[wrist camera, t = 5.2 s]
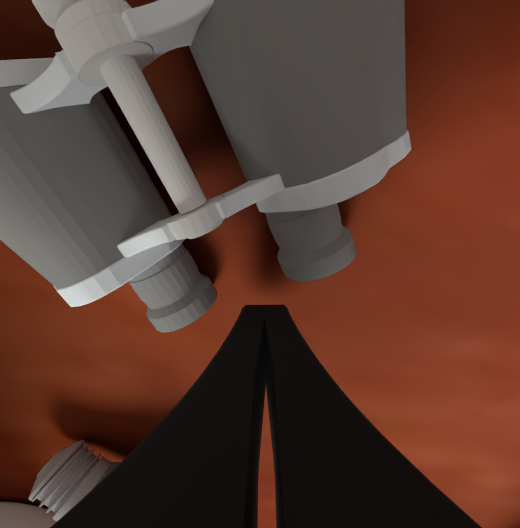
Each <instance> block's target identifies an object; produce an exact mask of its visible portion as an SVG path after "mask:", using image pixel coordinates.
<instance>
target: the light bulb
mask: <svg viewBox="0 0 520 528" xmlns="http://www.w3.org/2000/svg"><path fill="white" fill-rule="evenodd" d="M84 442H85V441H84V440H83V439H82V440H80V441H78V442H76V443H74V444H72V445H70V446H69V447H67V448H66V447H64V448H62V449H61V450H60V451H58V452H57V453H56V454H55V455H54V456H53V457H52V458H51V459H50V460H49V461H48V462H47V463H46V464H45V466H44V467H43V468H42V469H41V470H40V472H39V473H38V475H37V479H36V481H35V483H34V486H33V488H32V491H31V493H30V496H29V498H28V499H29V500H30V501H32V502H33V501H35V500H36V499H38V500H40V501H41V504H40V505H39V508H40V507H41V506H42V505H46V506H47V507H48V509H47V511H46V514H47V513H48V512H49V511H50V510H52V511H53V512H54V513H55V515H54V516H53V519H54V520H55V521H56V522H57V521H58V520H59V519H60V518H62V517H63V516H64V515H65V514H66V513H67V512H68V511H69V510H71V509H72V508H73V507H74V506H75V505H76V504H77V503H78V502H79V501H80V500H82V499H83V498H84V497H85V496H86V495H87V494H88V493H89V492H90V491H91V490H92V489H93V488H94V487H95V486H96V485H98V484H99V483H100V482H101V481H102V480H103V479H104V478H105V477H106V476H107V475H108V474H109V473H110V472H111V471H112V470H113V469H115V468H116V467H117V466H118V465H119V464H120V463H121V462H111V461H109V460H107V459H106V458H105V457H104V456H103V457H102V458H101V459H99V457H100V455H101V454H99V455H98V456H95V455H94V454H93V452H94V450H95V449H93V450H91V451H89V450H88V449H87V447H88V445H89V444H86V445H85V446H83V444H84Z"/></svg>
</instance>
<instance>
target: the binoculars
mask: <svg viewBox="0 0 520 528" xmlns="http://www.w3.org/2000/svg"><path fill="white" fill-rule="evenodd" d="M32 2H33V4H34V6H35V8H36V9H37V11H38V12H39V14H40V15H41V17H42V19H43V20H44V21H45V23H46V24H47V25H48V26H50V27H51V28H53V29H54V30H55V35H56V38H57V39H58V41H59V43H60V45H61V47H62V48H63V50H62V51H61V52H56V55H55V57H54V58H36V59H16V60H0V240H1V241H2V242H3V243H5V244H6V245H7V246H8V247H9V248H10V249H12V250H13V251H14V252H15V253H16V254H18V255H19V256H20V257H21V258H22V259H23V260H25V261H26V262H27V263H28V264H29V265H30V266H32V267H33V268H34V269H35V270H36V271H38V272H39V273H40V274H41V275H42V276H43V277H45V278H46V279H47V280H48V281H49V282H50V283H52V284H53V286H54V288H55V289H56V290H57V292H58V293H59V294H60V295H61V296H62V298H63V299H64V300H65V301H66V302H67V303H68V304H69V305H70V306H71V307H76V306H82V305H85V304H88V303H91V302H93V301H95V300H97V299H99V298H101V297H103V296H105V295H107V294H109V293H110V292H112V291H114V290H115V289H117V288H119V287H120V286H122V285H123V284H125V283H126V282H129V283H130V285H131V286H132V288H133V289H134V291H135V292H136V293H137V295H138V296H139V297H140V299H141V300H142V301H143V302H145V303H146V305H147V317H148V318H149V320H150V321H151V322H152V324H153V325H154V327H155V328H156V329H157V330H158V331H160V332H172V331H175V330H178V329H180V328H183V327H185V326H187V325H189V324H190V323H192V322H194V321H195V320H197V319H198V318H199V317H201V316H202V315H203V314H204V313H205V312H206V311H207V310H208V309H209V308H210V307H211V306H212V305H213V303H214V302H215V300H216V297H217V291H216V289H215V287H214V285H213V284H212V282H211V280H210V279H209V277H207V276H205V275H202V274H200V272H199V271H198V267H197V265H196V263H195V262H194V260H193V258H192V256H191V255H190V253H189V251H188V250H187V249H186V248H185V247H184V245H183V244H182V242H183V241H184V240H185V239H186V238H188V239H194V238H197V237H200V236H202V235H204V234H207V233H209V232H210V231H212V230H214V229H215V228H217V227H218V226H220V225H221V224H222V223H223V220H224V219H225V218H228V217H229V216H231V215H233V214H235V213H237V212H239V211H240V210H242V209H244V208H246V207H248V206H250V205H252V204H254V203H256V205H257V207H258V209H259V211H260V212H264V213H265V215H266V217H267V223H268V225H269V228H270V230H271V233H272V235H273V237H274V239H275V241H276V243H277V244H278V245H279V248H280V249H279V252H278V256H277V259H278V261H279V263H280V266H281V268H282V270H283V273H284V275H285V276H286V277H287V278H288V279H291V280H293V281H313V280H318V279H322V278H325V277H328V276H330V275H333V274H335V273H337V272H339V271H340V270H342V269H343V268H345V267H346V266H348V265H349V264H350V263H351V262H352V261H353V259H354V258H355V256H356V252H357V251H356V247H355V243H354V240H353V236H352V233H351V231H350V230H349V229H348V228H346V227H344V226H342V223H341V216H340V212H339V208H338V205H337V203H339V202H342V201H344V200H347V199H349V198H351V197H353V196H355V195H358V194H360V193H362V192H363V191H365V190H367V189H369V188H370V187H372V186H374V185H376V184H377V183H378V182H379V181H380V180H381V179H382V178H383V177H384V176H385V175H386V173H387V172H388V170H389V169H390V167H392V166H393V165H395V164H396V163H398V162H399V161H400V160H402V159H403V158H405V157H406V156H407V154H408V153H409V152H410V150H411V144H410V138H409V132H408V130H406V69H405V0H158V1H155V2H153V3H150V4H146V5H143V6H140V7H135V8H132V7H131V6H130V5H129V4H128V3H127V0H32ZM184 46H189V48H190V50H191V53H192V55H193V57H194V60H195V62H196V64H197V67H198V69H199V71H200V74H201V76H202V78H203V81H204V83H205V85H206V88H207V90H208V92H209V95H210V97H211V99H212V102H213V104H214V106H215V108H216V111H217V113H218V115H219V118H220V120H221V122H222V125H223V127H224V129H225V132H226V134H227V136H228V139H229V141H230V143H231V146H232V148H233V150H234V153H235V155H236V157H237V160H238V162H239V164H240V167H241V169H242V171H243V174H244V176H245V178H246V181H247V182H246V183H244V184H242V185H240V186H239V187H237V188H235V189H232V190H230V191H228V192H226V193H223V194H221V195H219V196H216V197H213V198H210V199H206V197H205V195H204V194H203V192H202V190H201V188H200V186H199V184H198V182H197V180H196V178H195V176H194V174H193V172H192V170H191V168H190V166H189V164H188V162H187V160H186V158H185V156H184V154H183V152H182V150H181V148H180V146H179V144H178V142H177V140H176V138H175V136H174V134H173V132H172V130H171V128H170V127H169V125H168V123H167V121H166V119H165V117H164V115H163V113H162V111H161V109H160V107H159V105H158V103H157V101H156V99H155V97H154V95H153V93H152V91H151V89H150V87H149V85H148V83H147V81H146V79H145V77H144V75H143V73H142V71H141V70H142V69H143V68H145V67H146V66H148V65H149V64H150V63H151V62H153V61H154V60H155V59H157V58H158V57H159V56H161V55H163V54H164V53H166V52H168V51H170V50H173V49H175V48H179V47H184ZM106 87H109V89H110V90H111V92H112V94H113V96H114V97H115V99H116V101H117V103H118V105H119V106H120V108H121V110H122V112H123V113H124V115H125V117H126V119H127V120H128V122H129V124H130V126H131V128H132V129H133V131H134V133H135V135H136V136H137V138H138V140H139V142H140V144H141V145H142V147H143V149H144V151H145V152H146V154H147V156H148V158H149V160H150V161H151V163H152V165H153V167H154V168H155V170H156V172H157V174H158V176H159V177H160V179H161V181H162V183H163V184H164V186H165V188H166V190H167V192H168V193H169V195H170V197H171V199H172V200H173V202H174V204H175V206H176V208H177V209H178V211H179V213H178V214H176V215H174V216H172V215H171V213H170V211H169V209H168V208H167V206H166V204H165V202H164V201H163V199H162V197H161V196H160V194H159V192H158V190H157V189H156V187H155V185H154V183H153V182H152V180H151V178H150V177H149V175H148V173H147V171H146V170H145V168H144V166H143V164H142V163H141V161H140V159H139V157H138V156H137V154H136V152H135V151H134V149H133V147H132V145H131V144H130V142H129V140H128V138H127V137H126V135H125V133H124V132H123V130H122V128H121V126H120V125H119V123H118V121H117V119H116V118H115V116H114V114H113V112H112V111H111V109H110V107H109V106H108V104H107V102H106V100H105V99H104V97H103V95H102V93H101V92H100V90H102V89H104V88H106Z"/></svg>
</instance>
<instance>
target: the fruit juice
mask: <svg viewBox="0 0 520 528" xmlns="http://www.w3.org/2000/svg"><path fill="white" fill-rule="evenodd" d="M46 511H47V509H45V508H42V507H40V508H39V507H38V506H34V505H29V504H23V503H16V502H0V528H50V527H51V526H52V525H54V524H55V523H56V521H55V520H54V519H53V516H54V515H55V513H54V512H53V511H52V510H50V511H49V512H48V513H47V514H46Z"/></svg>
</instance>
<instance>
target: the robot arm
mask: <svg viewBox="0 0 520 528" xmlns="http://www.w3.org/2000/svg"><path fill="white" fill-rule="evenodd" d="M265 360H266V362H265ZM265 386H266V389H267V399H268V409H269V419H270V429H271V438H272V448H273V458H274V470H275V490H276V524H277V528H482V527H480V526H479V525H478V524H477V523H476V522H475V521H474V520H473V519H471V518H470V517H469V516H468V515H467V514H466V513H465V512H464V511H463V510H461V509H460V508H459V507H458V506H457V505H456V504H455V503H454V502H453V501H451V500H450V499H449V498H448V497H447V496H446V495H445V494H444V493H443V492H441V491H440V490H439V489H438V488H437V487H436V486H435V485H434V484H433V483H431V482H430V481H429V480H428V479H427V478H426V477H425V476H424V475H423V474H422V473H421V472H420V471H419V470H418V469H417V468H416V467H415V466H414V465H413V464H412V463H411V462H410V461H409V460H408V459H407V458H406V457H405V456H404V455H403V454H402V453H400V452H399V451H398V450H397V449H396V448H395V447H394V446H393V445H392V444H391V443H390V442H389V441H388V440H387V439H386V438H385V437H384V436H383V435H382V434H381V433H380V432H379V431H378V430H377V429H376V428H375V427H374V426H373V424H372V423H371V422H370V421H369V420H368V419H367V418H366V417H365V416H364V415H363V414H362V413H361V412H360V411H359V409H358V408H357V407H356V406H355V405H354V404H353V403H352V402H351V400H350V399H349V398H348V397H347V396H346V395H345V394H344V392H343V391H342V390H341V389H340V388H339V386H338V385H337V384H336V383H335V381H334V380H333V379H332V378H331V376H330V375H329V374H328V372H327V371H326V370H325V368H324V367H323V366H322V365H321V363H320V362H319V360H318V359H317V358H316V356H315V355H314V353H313V352H312V350H311V349H310V347H309V346H308V344H307V343H306V341H305V340H304V338H303V337H302V335H301V334H300V332H299V330H298V329H297V327H296V325H295V323H294V321H293V320H292V318H291V316H290V314H289V311H288V309H287V307H286V306H285V305H245V306H244V307H243V308H242V310H241V313H240V315H239V317H238V319H237V321H236V323H235V325H234V326H233V328H232V330H231V332H230V333H229V335H228V336H227V338H226V340H225V341H224V343H223V344H222V346H221V348H220V349H219V351H218V352H217V354H216V355H215V356H214V358H213V359H212V361H211V362H210V363H209V365H208V366H207V367H206V369H205V370H204V372H203V373H202V374H201V376H200V377H199V378H198V379H197V381H196V382H195V383H194V384H193V386H192V387H191V388H190V389H189V391H188V392H187V393H186V394H185V395H184V397H183V398H182V399H181V400H180V401H179V402H178V404H177V405H176V406H175V407H174V408H173V409H172V410H171V412H170V413H169V414H168V415H167V416H166V417H165V418H164V419H163V420H162V421H161V422H160V423H159V424H158V426H157V427H156V428H155V429H154V430H153V431H152V432H151V433H150V434H149V435H148V436H147V437H146V438H145V439H144V440H143V441H142V442H141V443H140V444H139V445H138V446H137V447H136V448H135V449H134V450H133V451H132V452H131V453H130V454H129V455H128V456H127V457H126V458H125V459H124V460H123V461H122V462H121V463H120V464H119V465H118V466H117V467H116V468H115V469H113V470H112V471H111V472H110V473H109V474H108V475H107V476H106V477H105V478H104V479H103V480H102V481H101V482H100V483H99V484H98V485H96V486H95V487H94V488H93V489H92V490H91V491H90V492H89V493H88V494H87V495H86V496H85V497H84V498H83V499H82V500H80V501H79V502H78V503H77V504H76V505H75V506H74V507H73V508H72V509H71V510H69V511H68V512H67V513H66V514H65V515H64V516H63V517H62V518H60V519H59V520H58V521H57V522H56V523H55V524H54V525H52V526H51V527H50V528H257V526H258V472H259V456H260V444H261V433H262V421H263V410H264V398H265Z"/></svg>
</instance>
